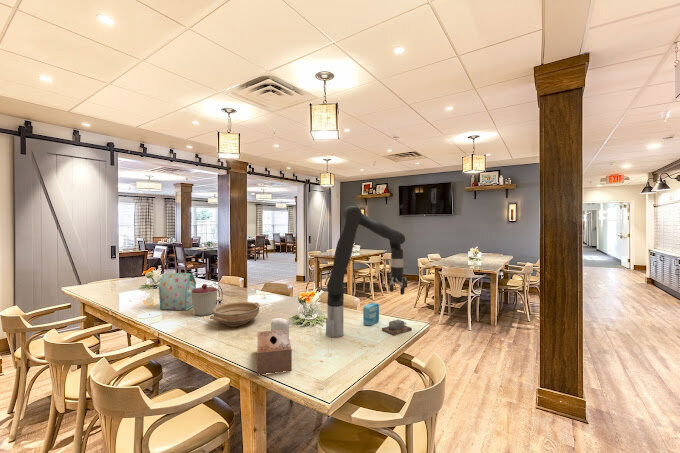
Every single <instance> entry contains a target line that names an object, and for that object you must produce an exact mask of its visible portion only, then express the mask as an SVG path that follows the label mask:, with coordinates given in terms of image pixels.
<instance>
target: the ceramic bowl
mask: <svg viewBox="0 0 680 453" xmlns="http://www.w3.org/2000/svg"><path fill="white" fill-rule="evenodd" d="M260 308H261V307H260V303H259V302H250V301H235V302H230V303H229V302H228V303H223V304H220V305H218V306H216V307H215V308H214V309H213V313H212V314H213V315H211V316H210V320H213V321H218V322H219V323H222V324H225V325H226V326H227V327H238V326H239V327H240V325H241V326H243V325H244V326H245V325H246V324H248V322H249V321H251V320H253V319H256V317H257V316H258V315H259V312H260Z"/></svg>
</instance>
